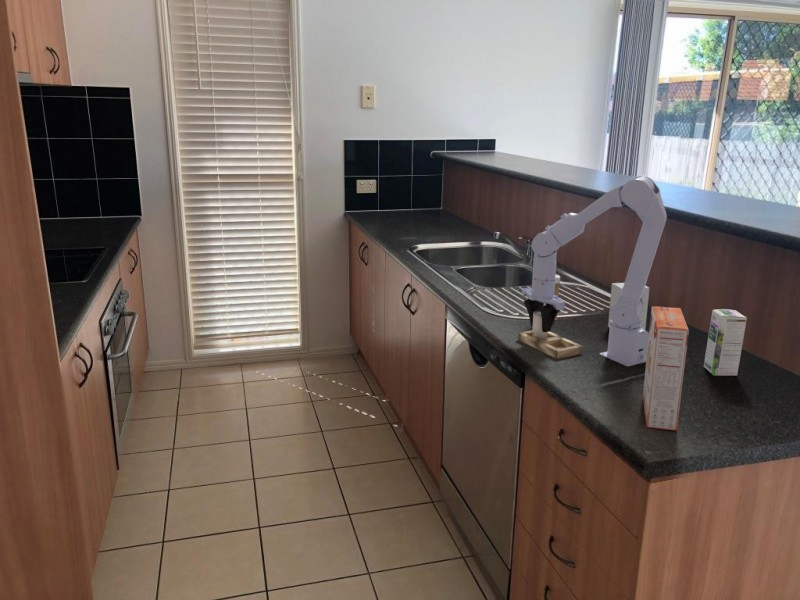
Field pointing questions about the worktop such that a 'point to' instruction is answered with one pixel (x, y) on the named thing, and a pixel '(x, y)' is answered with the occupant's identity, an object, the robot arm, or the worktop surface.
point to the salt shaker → (538, 326)
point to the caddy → (552, 345)
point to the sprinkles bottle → (556, 289)
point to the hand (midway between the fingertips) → (540, 329)
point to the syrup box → (725, 342)
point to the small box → (615, 294)
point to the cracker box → (664, 367)
